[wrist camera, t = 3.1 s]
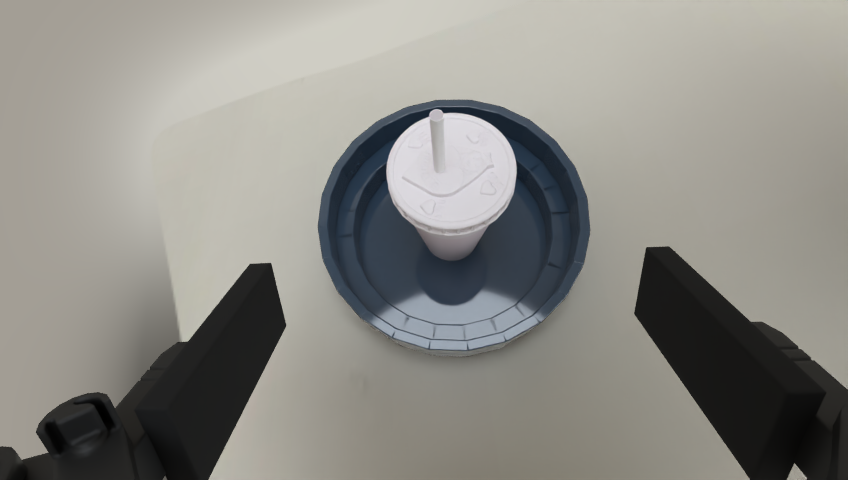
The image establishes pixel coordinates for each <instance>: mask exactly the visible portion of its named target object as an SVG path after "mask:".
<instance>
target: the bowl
mask: <svg viewBox="0 0 848 480" xmlns="http://www.w3.org/2000/svg"><path fill="white" fill-rule="evenodd" d="M435 109H439V110H441V111H442V112H443V114H444V113H461V114H467V115H471V116H475V117H477V118H480V119H482V120H484V121H486V122H488V123H490V124H491V125H493V126H494V127H495V128H496V129H498V130H499V131H500V132H501V133H502V134H503V135H504V137H505V138H506V139H507V141H508V142H509V144H510V146H511V148H512V150H513V153H514V155H515V159H516V166H517V174H516V182H515V188H514V194H513V196H512V198H511V200H510V202H509V204H508V207H507V208H506V209H505V211H504V212H503V213H502V214H501V215H500V216H499V217H498V218H497V219H496V220H495V221H494V222H492V223H491V224H489V225H488V227H487V229H486V230H485V232H484V234H483V235H482V237H481V239H480V240H479V242H478V243H477V245H476V247H475V248H474V250H473V251H472V252H471V253H470V254H469V255H468V256H466V257H465V258H463V259H460V260H456V261H447V260H443V259H440V258H438V257H436V256H435V255H434V254H432V252H431V251H430V250H429V249H428V247H427V245H426V244H425V242H424V241H423V239H422V237H421V236H420V234H419V233H418V231H417V229H416V228H415V226H414V225H413V224H411V223H410V222H409V221H408V220H407V219H405V218H404V217H403V216H402V215H401V213H400V212H399V211H398V209H397V208H396V206H395V205H394V203H393V201H392V198H391V195H390V192H389V189H388V182H387V174H386V169H387V161H388V157H389V154H390V151H391V149H392V147H393V145H394V144H395V142H396V141H397V139H398V138H399V137H400V136H401V134H402V133H403V132H404V131H405V130H407V129H408V128H409V127H410V126H412V125H413V124H415V123H416V122H418V121H420V120H422V119H425V118H427V117H429V114H430V112H431V111H432V110H435ZM318 233H319V239H320V246H321V252H322V259H323V262H324V264H325V266H326V268H327V270H328V272H329V275H330V277H331V279H332V281H333V283H334V285H335V288H336V290H337V291H338V293H339V294H340V295H341V296H342V297H343V298H344V300H345V301H346V302H347V303H348V304H349V305H350V306H351V308H352V309H353V310H354V311H355V312H356V313H357V314H358V316H359V317H360V318H362V319H363V320H364V321H365V322H366V323H368V324H369V325H370V326H371V327H373V328H374V329H376V330H377V331H379V332H380V333H382V334H383V335H385V336H386V337H388V338H389V339H391V340H392V341H394V342H396V343H397V344H399V345H401V346H403V347H407V348H410V349H413V350H416V351H419V352H422V353H426V354H429V355H433V356H458V357H465V356H466V357H467V356H472V355H476V354H480V353H484V352H488V351H493V350H497V349H499V348H502V347H503V346H505V345H507V344H509V343H511V342H512V341H514V340H516V339H518V338H520V337H521V336H523V335H525V334H527V333H528V332H529V331H531V330H532V329H533V328H535V327H536V326H537V325H539V324H540V323H541V322H542V321H543V320H544V319H545V318H546V317H547V316H548V315H549V314H550V313H551V312H552V311H553V310H554V309H555V308H556V307H557V306H558V305H559V304H560V303H561V302H562V301H563V300H564V299H565V298H566V296H567V295H568V293H569V291H570V290H571V288H572V286H573V284H574V282H575V280H576V278H577V277H578V275H579V273H580V271H581V269H582V267H583V265H584V261H585V256H586V251H587V246H588V241H589V236H590V222H589V211H588V200H587V196H586V193H585V191H584V188H583V186H582V183H581V180H580V178H579V175H578V173H577V170H576V168H575V166H574V165H573V163H572V162H571V161H570V159H569V158H568V157H567V155H566V154H565V153H564V151H563V150H562V149H561V147H560V146H559V144H558V143H557V142H556V141H555V140H554V139H553V138H552V137H550V136H549V135H548V134H547V133H545V132H544V131H543V130H542V129H540V128H539V127H538V126H537V125H536V124H534V123H533V122H532V121H530V120H529V119H527V118H525V117H522V116H520V115H518V114H516V113H514V112H512V111H510V110H508V109H506V108H503V107H501V106H496V105H492V104H487V103H483V102H478V101H473V100H435V101H431V102H426V103H422V104H418V105H413V106H409V107H407V108H403V109H401V110H399V111H397V112H395V113H393V114H391V115H389V116H387V117H385V118H383V119H381V120H379V121H377V122H376V123H374V124H373V125H372V126H371V127H369V128H368V129H367V130H366V131H365V132H363V133H362V134H361V135H360V136H358V137H357V138H356V139H355V140H354V141H353V142H352V143H351V144H350V146H349V147H348V148H347V149H346V151H345V152H344V153H343V155H342V156H341V157H340V159H339V160H338V161H337V163H336V164H335V166H334V167H333V169H332V172H331V174H330V177H329V179H328V181H327V184H326V186H325V188H324V191H323V193H322V198H321V205H320V213H319V221H318Z"/></svg>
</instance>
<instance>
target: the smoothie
mask: <svg viewBox="0 0 848 480" xmlns="http://www.w3.org/2000/svg"><path fill="white" fill-rule="evenodd" d="M386 174H387V182H388V189H389V192H390V195H391V198H392V201H393V203H394V205H395V206H396V208H397V209H398V211H399V212H400V213H401V215H402V216H403V217H404V218H405V219H407V220H408V221H409V222H410V223H411V224H413V225H414V226H415V228H416V229H417V231H418V233H419V234H420V236H421V237H422V239H423V241H424V242H425V244H426V245H427V247H428V249H429V250H430V251H431V252H432V254H434V255H435V256H436V257H438V258H440V259H443V260H447V261H456V260H460V259H463V258H465V257H466V256H468V255H469V254H470V253H471V252H472V251H473V250H474V248H475V247H476V245H477V243H478V242H479V240H480V239H481V237H482V235H483V234H484V232H485V230H486V229H487V227H488V225H489V224H491V223H492V222H494V221H495V220H496V219H497V218H498V217H499V216H500V215H501V214H502V213H503V212H504V211H505V209H506V208H507V207H508V204H509V202H510V200H511V198H512V196H513V194H514V188H515V182H516V174H517V166H516V159H515V155H514V153H513V150H512V148H511V146H510V144H509V142H508V141H507V139H506V138H505V137H504V135H503V134H502V133H501V132H500V131H499V130H498V129H496V128H495V127H494V126H493V125H491V124H490V123H488V122H486V121H484V120H482V119H480V118H477V117H475V116H471V115H467V114H461V113H444V114H443V112H442V111H441V110H439V109H435V110H432V111H431V112H430V114H429V117H427V118H425V119H422V120H420V121H418V122H416V123H415V124H413V125H412V126H410V127H409V128H408V129H407V130H405V131H404V132H403V133H402V134H401V136H400V137H399V138H398V139H397V141H396V142H395V144H394V145H393V147H392V149H391V151H390V154H389V157H388V161H387V169H386Z"/></svg>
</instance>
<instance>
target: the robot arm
mask: <svg viewBox="0 0 848 480" xmlns="http://www.w3.org/2000/svg"><path fill="white" fill-rule="evenodd" d="M634 314H635V316H636V317H637V319H638V320H639V321H640V323H641V324H642V326H643V327H644V328H645V330H646V331H647V333H648V334H649V336H650V337H651V338H652V340H653V341H654V343H655V344H656V346H657V347H658V348H659V350H660V351H661V353H662V354H663V356H664V357H665V358H666V360H667V361H668V363H669V364H670V366H671V367H672V368H673V370H674V371H675V373H676V374H677V376H678V377H679V378H680V380H681V381H682V383H683V384H684V386H685V387H686V388H687V390H688V391H689V393H690V394H691V396H692V397H693V398H694V400H695V401H696V403H697V404H698V406H699V407H700V408H701V410H702V411H703V413H704V414H705V416H706V417H707V418H708V420H709V421H710V423H711V424H712V426H713V427H714V428H715V430H716V431H717V433H718V434H719V436H720V437H721V438H722V440H723V441H724V443H725V444H726V445H727V447H728V448H729V450H730V451H731V453H732V454H733V455H734V457H735V458H736V460H737V461H738V463H739V464H740V465H741V467H742V468H743V470H744V471H745V473H746V474H747V475H748V477H749V478H750V480H787V478H788V475H789V473H790V471H791V469H792V467H793V465H794V463H795V464H796V465H797V466H798V468H799V469H800V470H801V471H802V472H803V474H804V475H805V476H806V477H807V480H848V390H847V389H846V388H845V387H844V386H843V385H842V384H840V383H839V382H838V381H837V380H836V379H835V378H834V377H832V376H831V375H830V374H829V373H828V372H827V371H826V370H824V369H823V368H822V367H821V366H820V365H819V364H818V363H816V362H815V361H812V360H811V357H809V356H808V355H807V354H806V353H805V352H804V351H803V350H801V349H798V346H797V345H796V344H795V343H793V342H792V341H791V340H790V339H789V338H788V337H787V336H785V335H784V334H783V333H782V332H780V331H778V330H776V329H774V328H772V327H770V326H769V325H767V324H765V323H763V322H750V321H749V320H748V319H747V318H746V317H745V316H744V315H743V314H742V313H741V312H739V311H738V310H737V309H736V308H735V307H734V306H733V305H732V304H731V303H730V302H729V301H728V300H726V299H725V298H724V297H723V296H722V295H721V294H720V293H719V292H718V291H717V290H716V289H715V288H713V287H712V286H711V285H710V284H709V283H708V282H707V281H706V280H705V279H704V278H703V277H702V276H701V275H699V274H698V273H697V272H696V271H695V270H694V269H693V268H692V267H691V266H690V265H689V264H688V263H686V262H685V261H684V260H683V259H682V258H681V257H680V256H679V255H678V254H677V253H676V252H675V251H673V250H672V249H671V248H670V247H646V252H645V257H644V263H643V268H642V274H641V279H640V285H639V290H638V296H637V301H636V307H635V312H634ZM285 327H286V323H285V319H284V314H283V310H282V306H281V302H280V298H279V294H278V290H277V286H276V281H275V277H274V273H273V269H272V265H271V263H260V264H250V265H249V266H248V267H247V268H246V270H245V271H244V272H243V273H242V275H241V276H240V277H239V278H238V280H237V281H236V282H235V283H234V285H233V286H232V287H231V288H230V290H229V291H228V292H227V293H226V295H225V296H224V297H223V299H222V300H221V301H220V302H219V304H218V305H217V306H216V307H215V309H214V310H213V311H212V312H211V314H210V315H209V316H208V317H207V319H206V320H205V321H204V322H203V324H202V325H201V326H200V327H199V329H198V330H197V331H196V332H195V334H194V335H193V336H192V337H191V339H190V340H189V341H188V342H177V343H176V344H175V345H173V346H172V347H171V348H169V349H168V350H166V351H165V352H163V353H162V354H161V355H160V356H159V357H158V359H157V360H156V361H155V362H154V363H153V364H152V366H151V367H150V370H147V372H146V373H145V374H144V375H143V376H142V377H141V381H138V382H137V383H136V384H135V386H134V387H133V388H132V389H131V390H130V392H129V393H128V394H127V395H126V396H125V397H124V399H123V400H122V401H121V402H120V403H119V404H118V406H117V407H116V408H114V406H113V404H112V402H111V400H110V399H109V397H108V396H107V394H103V393H99V392H97V393H87V394H84V395H81V396H78V397H75V398H72V399H70V400H68V401H67V402H64V403H62V404H60V405H59V406H58V407H56V408H55V409H53V410H52V411H51V412H49V413H48V414H47V415H46V416H45V417H44V418H43V420H42V421H41V422H40V423H39V425H38V428H37V431H36V433H37V435H38V436H39V438H40V439H41V441H42V443H43V444H44V446H45V447H46V449H47V451H48V452H49V453H45V454H42V455H38V456H34V457H31V458H27V459H23V460H21V459H20V457H19V456H18V454H17V453H16V451H15V450H14V449H13V448H12V447H3V446H2V447H0V480H163V478H164V476H166V478H167V480H208V479H209V477H210V475H211V473H212V471H213V469H214V467H215V465H216V463H217V461H218V459H219V457H220V455H221V453H222V451H223V449H224V447H225V446H226V444H227V442H228V440H229V438H230V436H231V434H232V432H233V430H234V428H235V426H236V424H237V422H238V420H239V418H240V416H241V414H242V412H243V410H244V408H245V406H246V404H247V402H248V400H249V398H250V396H251V394H252V392H253V390H254V388H255V386H256V384H257V382H258V380H259V379H260V377H261V375H262V373H263V371H264V369H265V367H266V365H267V363H268V361H269V359H270V357H271V355H272V353H273V351H274V349H275V347H276V345H277V343H278V341H279V339H280V337H281V335H282V333H283V331H284V329H285Z"/></svg>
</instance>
